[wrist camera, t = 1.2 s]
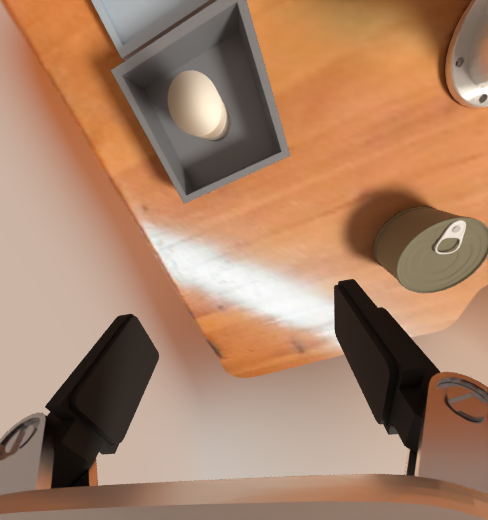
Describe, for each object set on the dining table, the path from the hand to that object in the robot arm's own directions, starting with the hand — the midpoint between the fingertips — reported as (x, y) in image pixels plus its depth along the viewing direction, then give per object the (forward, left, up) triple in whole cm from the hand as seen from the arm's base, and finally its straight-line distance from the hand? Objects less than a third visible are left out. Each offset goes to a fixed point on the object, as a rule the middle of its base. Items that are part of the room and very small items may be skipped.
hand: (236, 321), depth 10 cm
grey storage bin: (0, -11, -26) cm, 28 cm away
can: (-23, +17, -26) cm, 39 cm away
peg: (0, -11, -25) cm, 28 cm away
